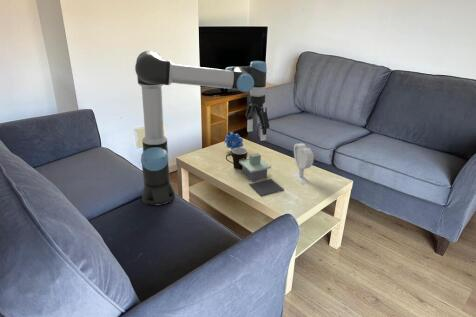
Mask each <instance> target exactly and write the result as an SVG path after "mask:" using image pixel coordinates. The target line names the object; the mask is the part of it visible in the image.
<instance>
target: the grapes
mask: <svg viewBox="0 0 476 317" xmlns="http://www.w3.org/2000/svg"><path fill="white" fill-rule="evenodd" d="M223 141H224V143H225V144H226V148H227V149H231V151H232V150H233V149H234V148H244V143H243V142H244V139H243V137H240V134H239V133H234V132H229V134H225V139H224V140H223Z"/></svg>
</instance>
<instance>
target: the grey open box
mask: <svg viewBox="0 0 476 317" xmlns="http://www.w3.org/2000/svg"><path fill="white" fill-rule="evenodd" d="M241 173H242V174H243V175H244V177H246V178H247V179H248V180H249V181H251V182H253V183H254V182H258V181H262V180H266V179H267V178H268V169H265V170H261V171H256V172H252V173H250V172H249V171H248V170H247V169H246V168H245V167H244V166H242V170H241Z"/></svg>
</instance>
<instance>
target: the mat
mask: <svg viewBox="0 0 476 317" xmlns="http://www.w3.org/2000/svg"><path fill="white" fill-rule="evenodd" d="M248 185H249V187H251V189H253V190H254V191H255V192H256V193H257V194H258V195H259V196H260V197H264V196H268V195H271V194H275V193H276V194H277V193H278V192H283V191H285V189H284V188H283V187H282V186H281V185H279V184H278V183H277V182H276V181H274V180H273V179H272V178H269V179H263V180H259V181H255V182H253V183H249V184H248Z"/></svg>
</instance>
